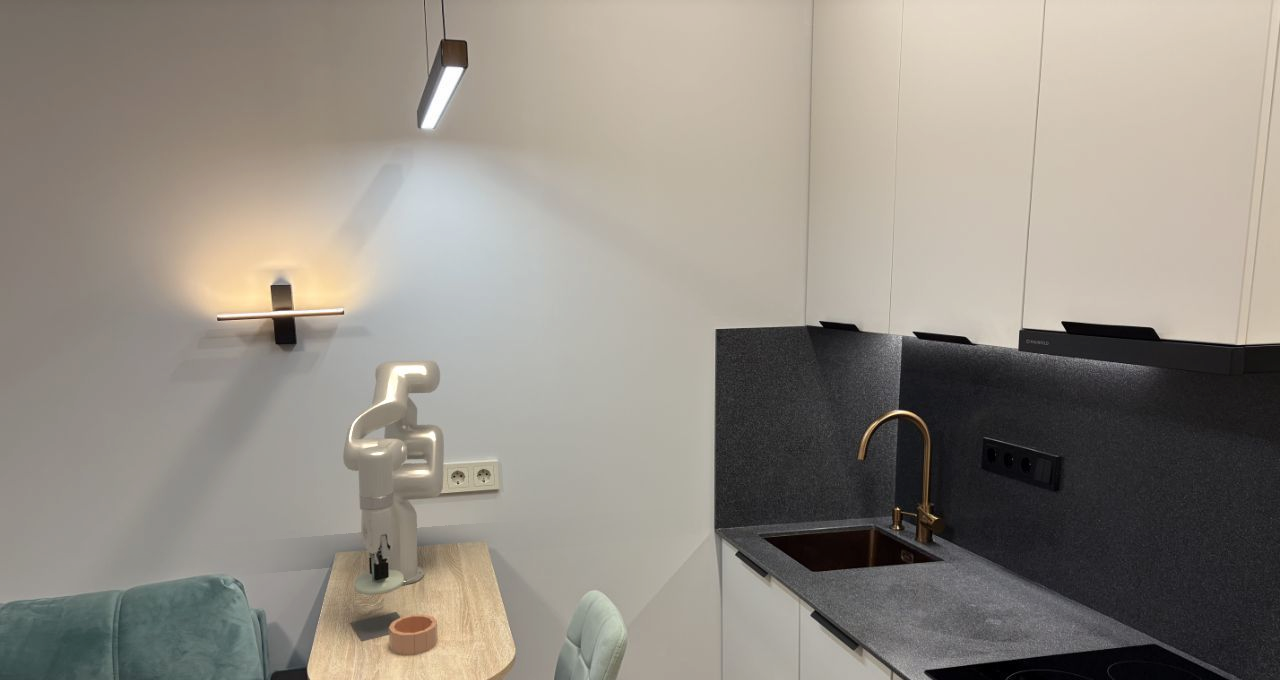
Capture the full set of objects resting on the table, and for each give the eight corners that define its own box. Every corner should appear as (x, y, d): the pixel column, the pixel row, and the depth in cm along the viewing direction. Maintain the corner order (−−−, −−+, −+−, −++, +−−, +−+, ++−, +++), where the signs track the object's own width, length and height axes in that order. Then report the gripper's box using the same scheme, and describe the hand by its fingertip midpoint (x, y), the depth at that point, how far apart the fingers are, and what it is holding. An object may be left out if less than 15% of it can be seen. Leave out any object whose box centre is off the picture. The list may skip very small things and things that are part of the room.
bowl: (384, 642, 174) (384, 621, 174) (428, 631, 180) (428, 610, 179) (397, 661, 166) (397, 639, 166) (443, 649, 172) (442, 627, 171)
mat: (349, 624, 183) (349, 622, 183) (396, 613, 189) (396, 611, 189) (361, 643, 174) (361, 641, 174) (410, 631, 180) (410, 629, 180)
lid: (349, 580, 183) (348, 551, 182) (396, 570, 189) (395, 542, 188) (361, 598, 174) (360, 568, 173) (409, 587, 180) (409, 558, 179)
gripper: (351, 493, 184) (353, 566, 186) (369, 514, 170) (372, 593, 173) (383, 487, 188) (385, 559, 190) (403, 507, 174) (405, 585, 177)
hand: (379, 574), depth 181 cm, fingers closed on lid, 3 cm apart
